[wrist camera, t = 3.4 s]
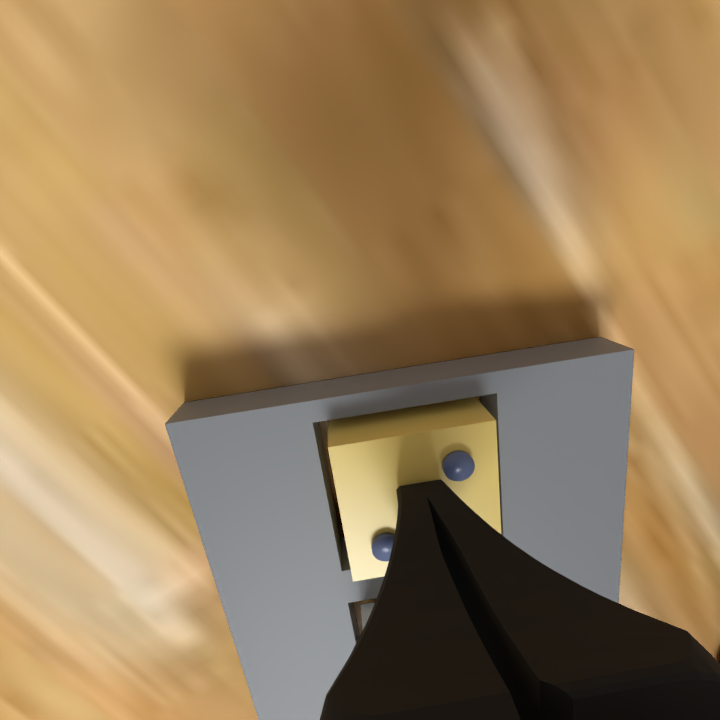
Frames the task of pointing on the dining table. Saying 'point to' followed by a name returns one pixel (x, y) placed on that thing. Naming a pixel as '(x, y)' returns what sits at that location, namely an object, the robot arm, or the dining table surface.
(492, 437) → the tile three
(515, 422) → the board
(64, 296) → the dining table surface
